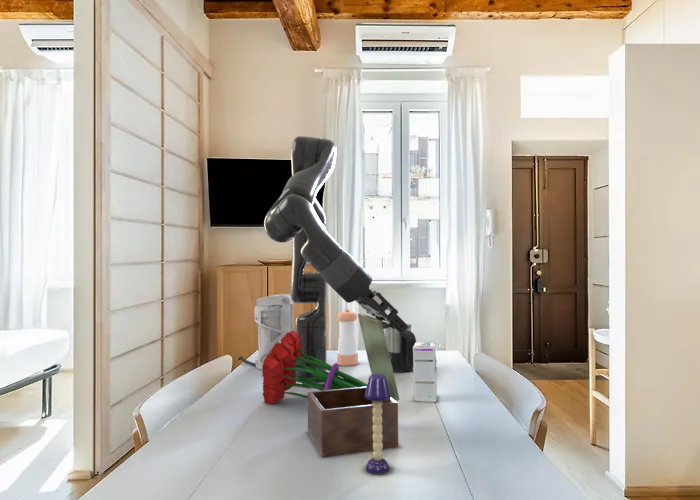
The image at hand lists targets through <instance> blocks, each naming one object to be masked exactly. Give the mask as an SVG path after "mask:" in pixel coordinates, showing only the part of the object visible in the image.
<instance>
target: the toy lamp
mask: <svg viewBox="0 0 700 500" xmlns="http://www.w3.org/2000/svg"><path fill="white" fill-rule="evenodd" d="M366 384H367V388H366V392H365V398H366V399H368V400H371V401H373V402H372V403H373V415H374V416H373V432H374V433H373V441H374V442H373V450H372V457H371V458H370V459H369V460H368V461H367V462H366V466H365V471H366V472H368V473H369V474H372V475H384V474H387V473H389V471H390V470H391V468H390V465H389V463H388V461H387V459H385V458H383V457H384V452H383V449H382V448H383V444H382V439H383V436H382V416H381V415H382V407H381V406H382V401H385V400H389V399H390V398H392V397H391V394H390V390H389V386H388V382H387V378H386V376H385V375H383V374H370V375H369V377H368V381H367V383H366Z"/></svg>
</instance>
